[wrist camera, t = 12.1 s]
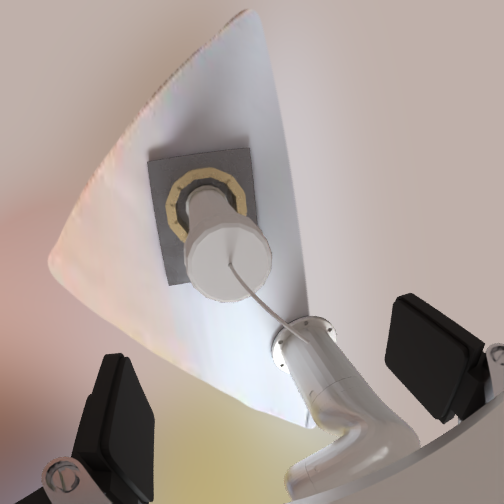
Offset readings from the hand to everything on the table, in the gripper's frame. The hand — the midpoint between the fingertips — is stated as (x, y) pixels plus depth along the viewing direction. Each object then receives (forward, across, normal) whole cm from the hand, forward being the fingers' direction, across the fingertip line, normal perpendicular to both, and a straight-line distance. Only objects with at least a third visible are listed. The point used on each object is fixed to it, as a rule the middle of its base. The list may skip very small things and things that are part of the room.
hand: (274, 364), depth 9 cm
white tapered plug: (+33, 0, 0) cm, 33 cm away
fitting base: (+35, 0, +1) cm, 35 cm away
